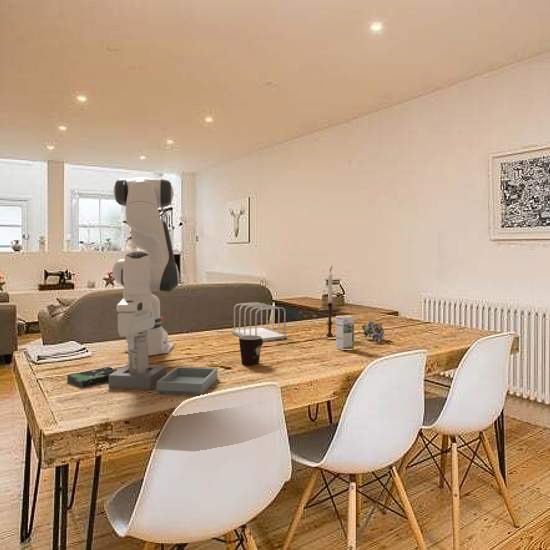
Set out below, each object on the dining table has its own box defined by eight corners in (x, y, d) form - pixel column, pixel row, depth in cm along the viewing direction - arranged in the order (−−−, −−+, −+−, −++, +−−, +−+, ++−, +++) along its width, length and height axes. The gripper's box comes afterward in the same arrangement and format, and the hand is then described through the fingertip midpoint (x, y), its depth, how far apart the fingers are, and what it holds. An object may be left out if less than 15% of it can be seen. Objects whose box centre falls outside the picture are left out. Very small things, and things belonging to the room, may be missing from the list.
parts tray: (177, 377, 162) (176, 366, 161) (217, 378, 160) (217, 368, 160) (156, 393, 144) (156, 381, 144) (201, 395, 142) (201, 383, 142)
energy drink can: (151, 383, 154) (150, 337, 154) (132, 386, 151) (132, 339, 150) (144, 379, 159) (143, 334, 158) (126, 381, 156) (125, 336, 155)
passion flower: (378, 353, 222) (374, 335, 215) (358, 346, 229) (354, 328, 222) (390, 337, 228) (387, 319, 221) (371, 330, 235) (367, 312, 228)
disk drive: (108, 374, 167) (66, 382, 156) (108, 366, 167) (66, 374, 156) (125, 379, 161) (82, 389, 149) (125, 371, 160) (82, 380, 149)
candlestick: (342, 336, 235) (342, 265, 233) (339, 340, 225) (340, 266, 222) (319, 335, 238) (320, 264, 235) (316, 339, 227) (317, 265, 225)
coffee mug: (245, 367, 175) (245, 340, 174) (234, 362, 182) (234, 336, 181) (273, 363, 181) (273, 337, 180) (261, 359, 188) (261, 333, 187)
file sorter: (231, 334, 241) (231, 303, 240) (262, 331, 250) (262, 301, 249) (255, 343, 220) (255, 309, 219) (287, 339, 228) (287, 306, 227)
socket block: (128, 376, 163) (127, 364, 163) (166, 377, 161) (166, 365, 161) (108, 387, 149) (108, 375, 149) (150, 389, 147) (150, 376, 147)
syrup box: (342, 351, 202) (343, 317, 202) (335, 348, 208) (335, 315, 207) (354, 350, 205) (354, 316, 204) (346, 347, 210) (346, 314, 209)
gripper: (141, 299, 164) (142, 339, 165) (113, 306, 144) (114, 352, 145) (159, 300, 163) (159, 340, 164) (133, 306, 143) (134, 353, 144)
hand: (138, 346), depth 154 cm, fingers open, 8 cm apart
